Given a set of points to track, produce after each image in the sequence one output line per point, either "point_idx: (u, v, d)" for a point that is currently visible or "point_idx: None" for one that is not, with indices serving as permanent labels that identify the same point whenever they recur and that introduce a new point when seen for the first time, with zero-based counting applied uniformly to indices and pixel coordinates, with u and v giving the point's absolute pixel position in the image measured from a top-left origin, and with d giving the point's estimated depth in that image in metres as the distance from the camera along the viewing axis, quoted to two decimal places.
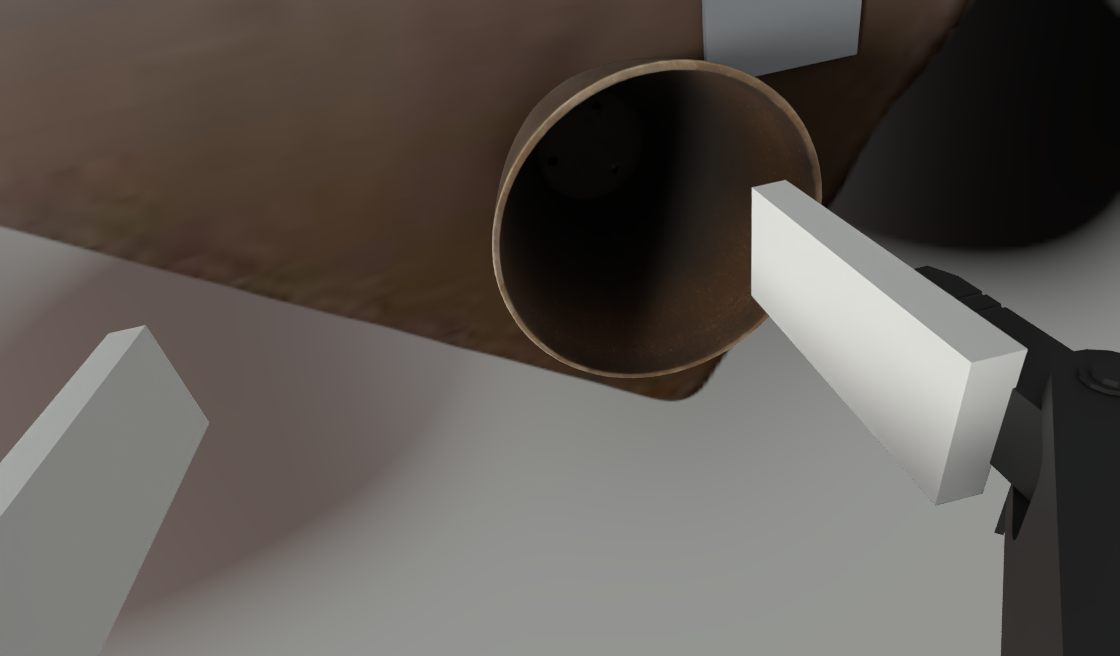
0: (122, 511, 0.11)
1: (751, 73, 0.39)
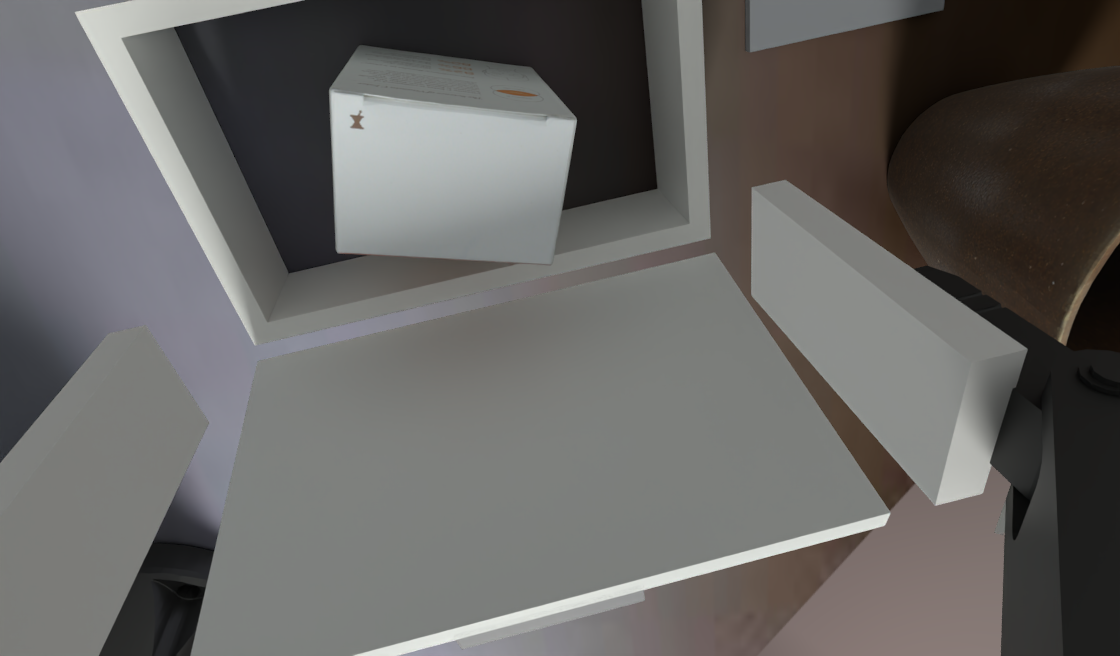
0: (122, 511, 0.11)
1: None
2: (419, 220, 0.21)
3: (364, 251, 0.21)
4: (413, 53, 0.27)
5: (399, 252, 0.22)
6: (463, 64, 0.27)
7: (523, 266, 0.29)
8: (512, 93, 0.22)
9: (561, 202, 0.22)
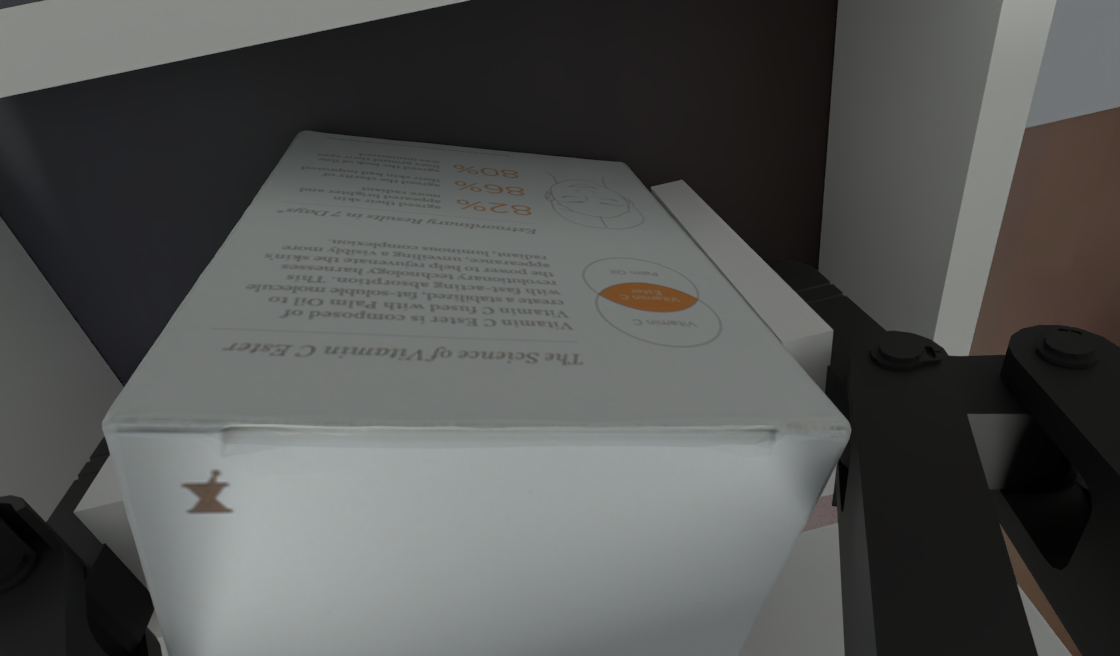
0: None
1: None
2: None
3: None
4: (405, 148, 0.14)
5: None
6: (504, 174, 0.13)
7: None
8: (640, 301, 0.09)
9: (769, 590, 0.09)
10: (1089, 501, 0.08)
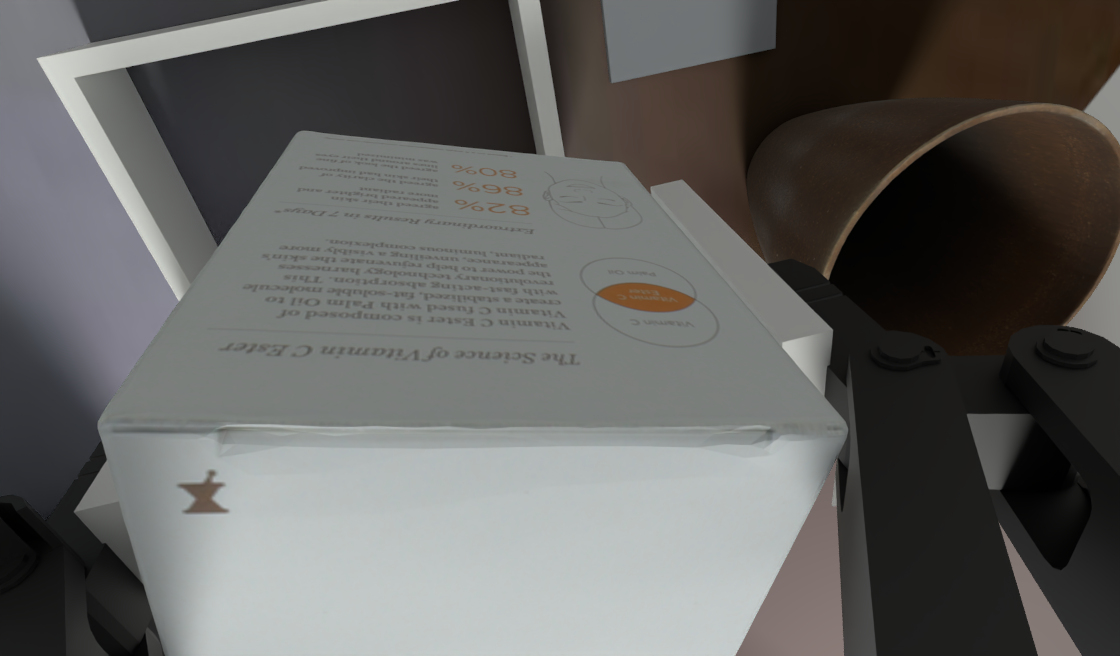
0: None
1: None
2: None
3: None
4: (403, 148, 0.14)
5: None
6: (502, 174, 0.13)
7: None
8: (638, 301, 0.09)
9: (766, 590, 0.09)
10: (1089, 501, 0.08)
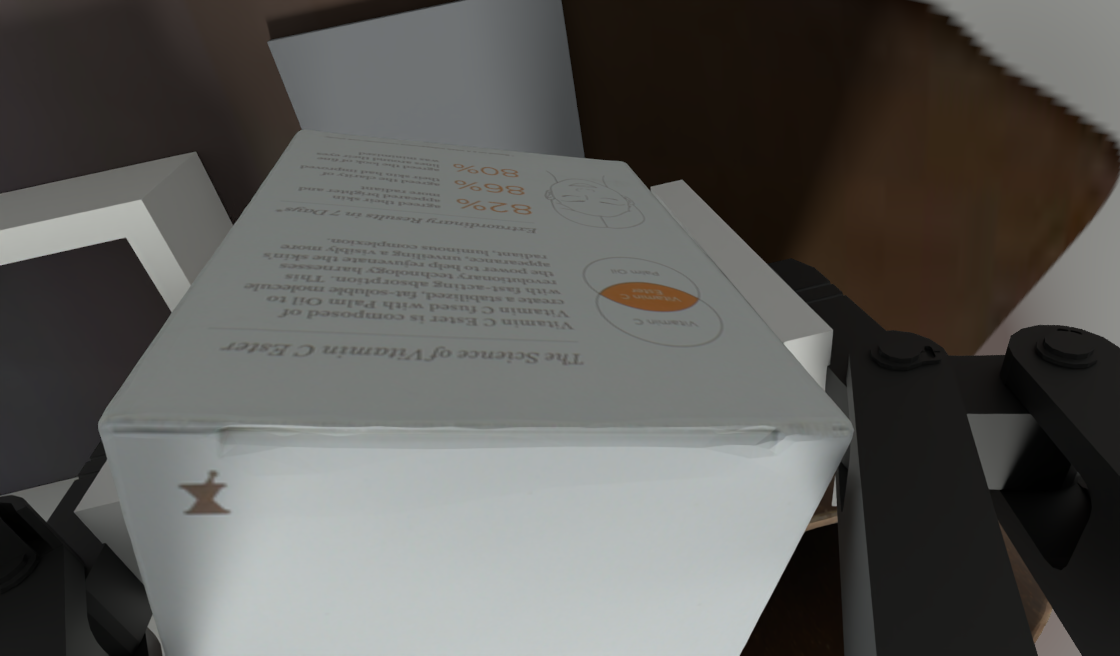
0: None
1: None
2: None
3: None
4: (405, 147, 0.14)
5: None
6: (504, 173, 0.13)
7: None
8: (641, 300, 0.09)
9: (771, 591, 0.09)
10: (1089, 501, 0.08)
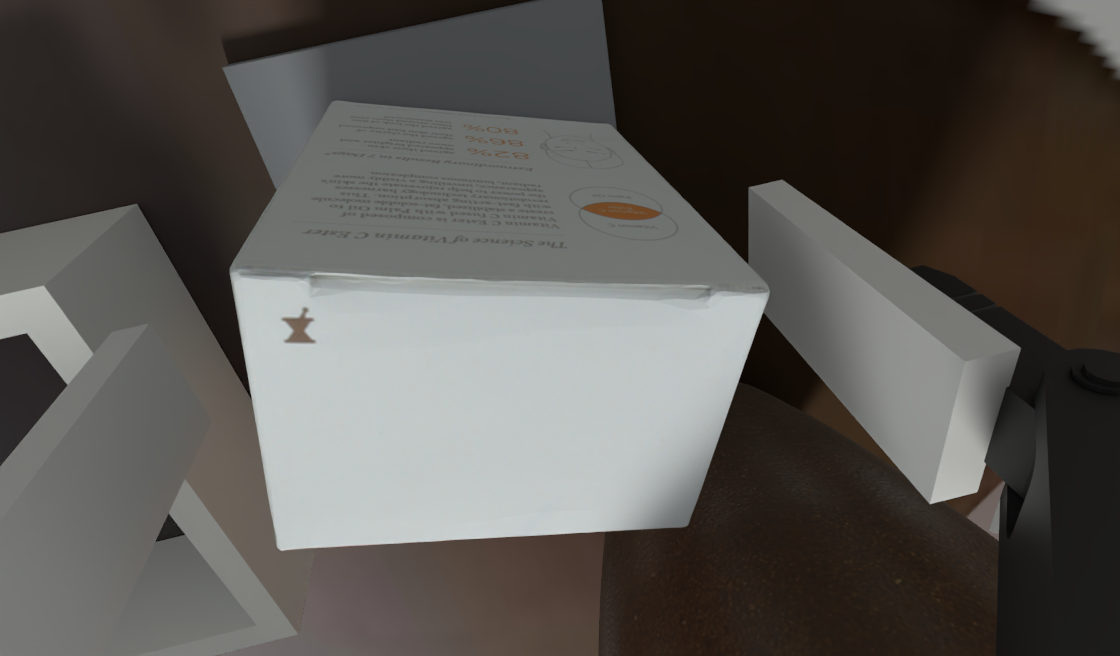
0: (126, 508, 0.11)
1: None
2: (441, 488, 0.10)
3: (331, 544, 0.11)
4: (422, 113, 0.16)
5: (402, 538, 0.11)
6: (506, 131, 0.16)
7: None
8: (614, 213, 0.12)
9: (719, 433, 0.11)
10: None
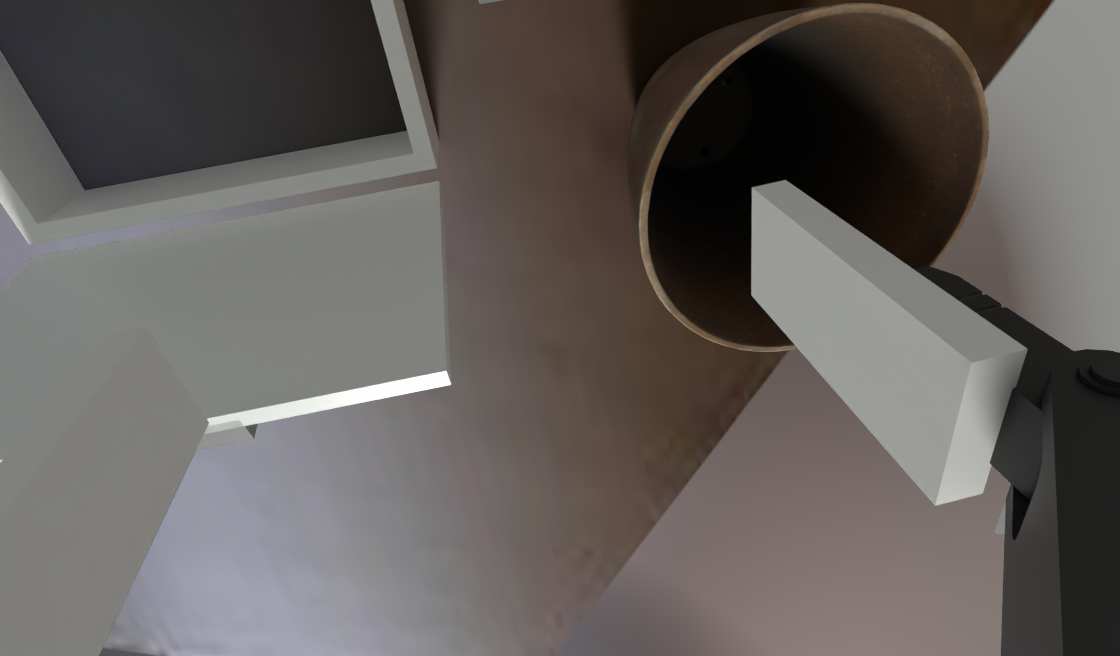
0: (122, 510, 0.11)
1: None
2: None
3: None
4: None
5: None
6: None
7: (264, 185, 0.33)
8: None
9: None
10: None
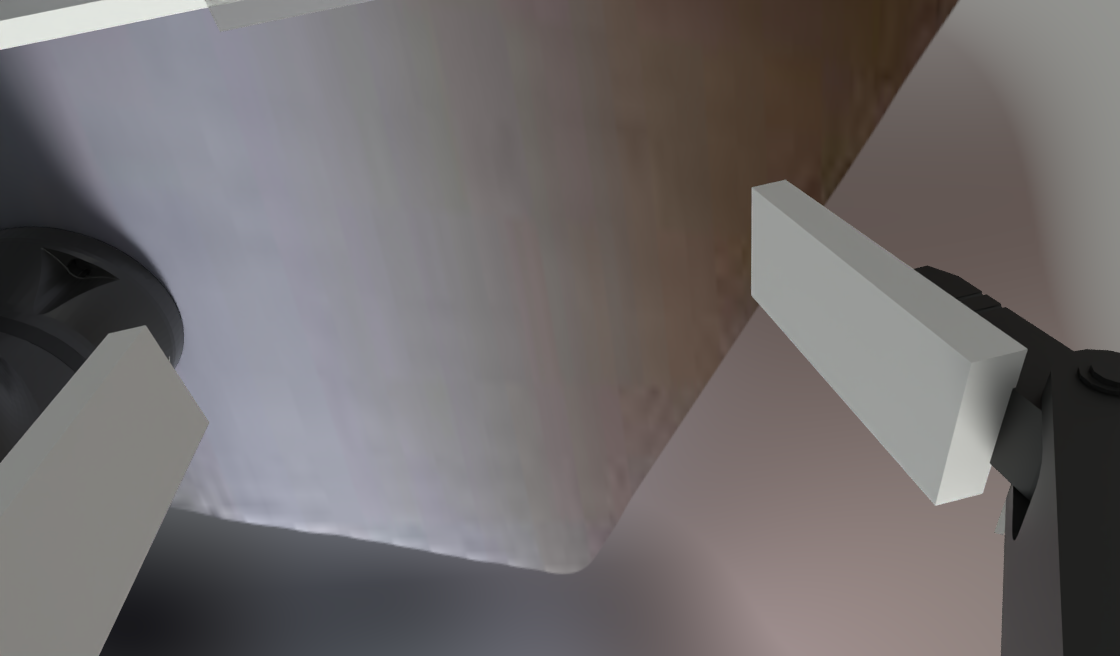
0: (122, 511, 0.11)
1: None
2: None
3: None
4: None
5: None
6: None
7: None
8: None
9: None
10: None
